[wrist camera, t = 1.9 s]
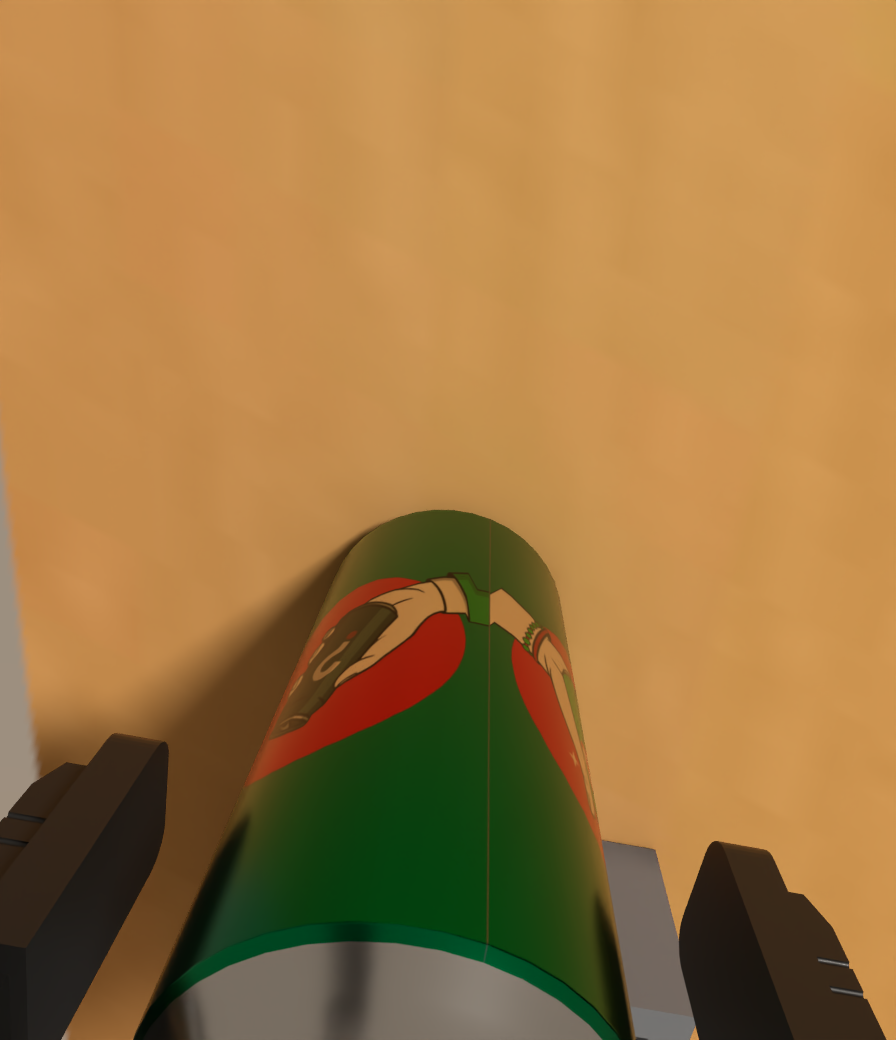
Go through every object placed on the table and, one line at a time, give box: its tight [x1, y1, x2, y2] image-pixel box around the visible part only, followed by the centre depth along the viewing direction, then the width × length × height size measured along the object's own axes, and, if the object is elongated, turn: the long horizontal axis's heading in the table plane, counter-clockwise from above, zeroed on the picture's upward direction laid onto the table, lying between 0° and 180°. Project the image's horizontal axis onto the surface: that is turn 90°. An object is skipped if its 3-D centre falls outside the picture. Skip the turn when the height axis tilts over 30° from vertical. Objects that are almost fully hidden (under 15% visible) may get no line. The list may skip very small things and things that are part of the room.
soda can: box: [133, 510, 636, 1040], centre depth 12 cm, size 5×5×12 cm
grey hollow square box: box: [602, 841, 695, 1040], centre depth 19 cm, size 9×9×4 cm
